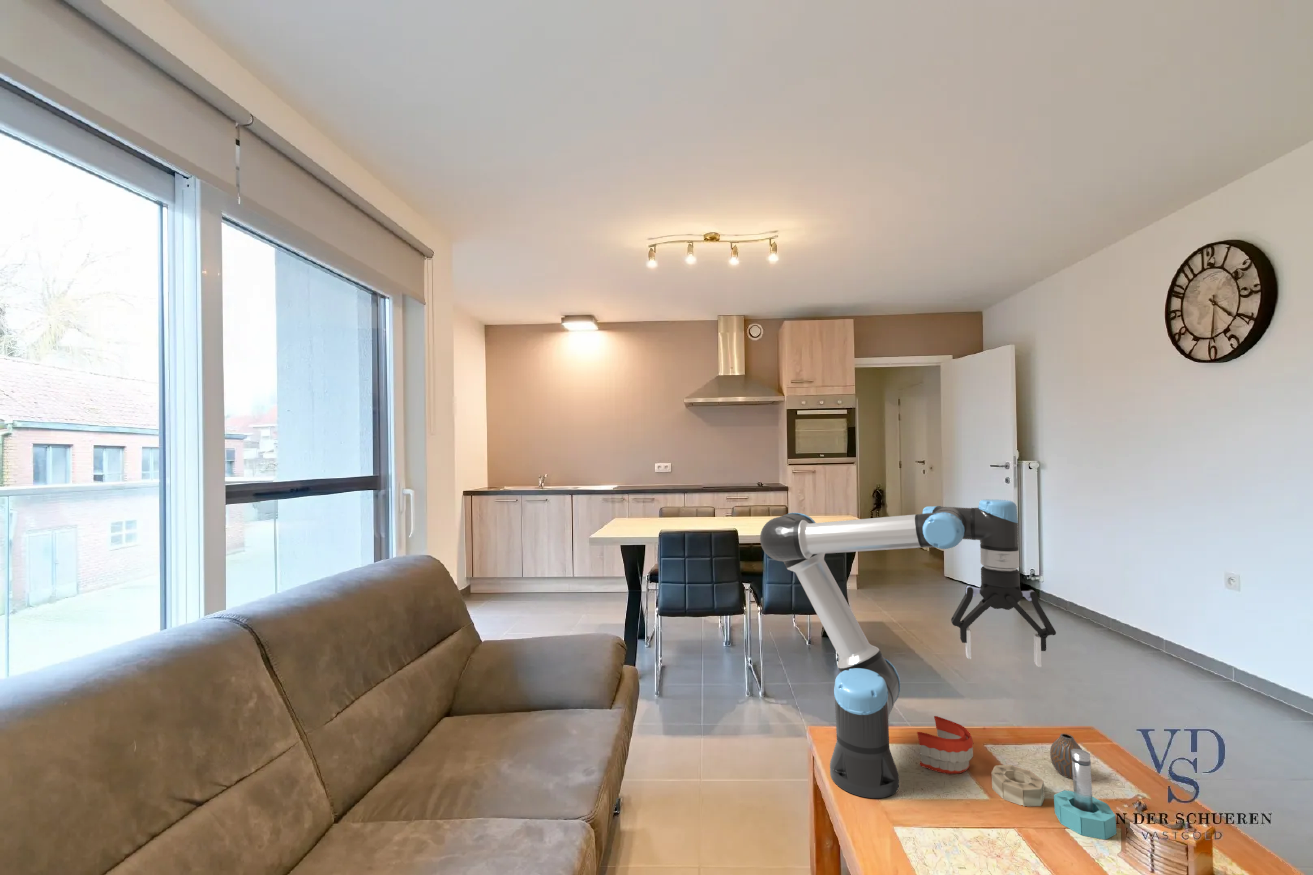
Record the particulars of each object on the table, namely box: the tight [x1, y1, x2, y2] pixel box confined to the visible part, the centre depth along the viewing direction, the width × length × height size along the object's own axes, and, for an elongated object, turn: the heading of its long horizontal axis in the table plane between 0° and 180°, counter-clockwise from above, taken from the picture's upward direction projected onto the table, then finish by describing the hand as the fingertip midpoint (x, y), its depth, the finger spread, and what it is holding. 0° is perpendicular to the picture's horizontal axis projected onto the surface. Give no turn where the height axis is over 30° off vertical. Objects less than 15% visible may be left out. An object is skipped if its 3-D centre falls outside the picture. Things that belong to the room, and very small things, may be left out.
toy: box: [916, 715, 974, 775], centre depth 132 cm, size 12×10×8 cm
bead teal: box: [1053, 789, 1117, 841], centre depth 110 cm, size 9×9×4 cm
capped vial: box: [1071, 749, 1093, 813], centre depth 111 cm, size 3×3×14 cm
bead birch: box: [991, 764, 1045, 807], centre depth 120 cm, size 9×9×4 cm
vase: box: [1049, 733, 1083, 780], centre depth 127 cm, size 7×7×9 cm
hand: (1002, 660), depth 124 cm, fingers open, 13 cm apart
